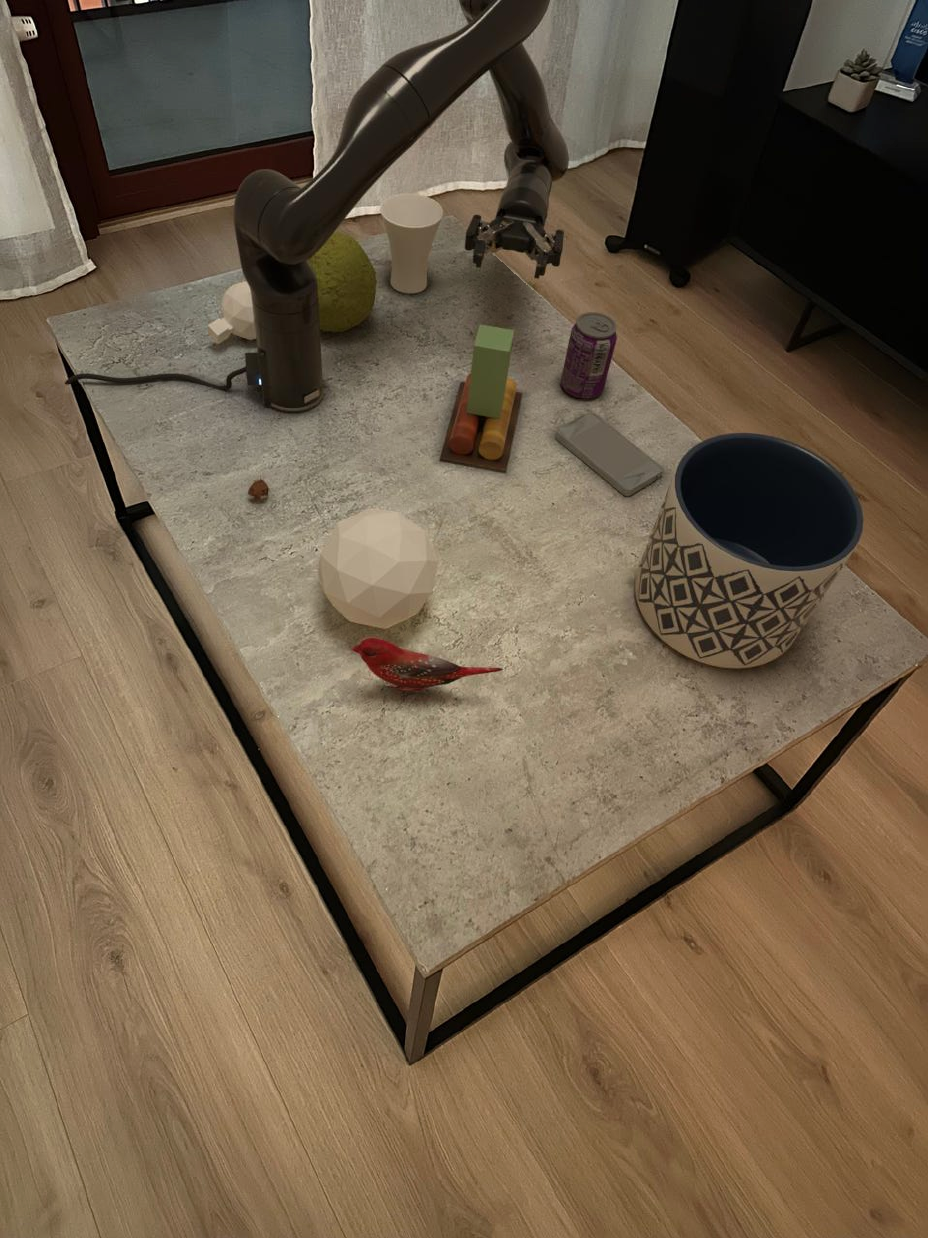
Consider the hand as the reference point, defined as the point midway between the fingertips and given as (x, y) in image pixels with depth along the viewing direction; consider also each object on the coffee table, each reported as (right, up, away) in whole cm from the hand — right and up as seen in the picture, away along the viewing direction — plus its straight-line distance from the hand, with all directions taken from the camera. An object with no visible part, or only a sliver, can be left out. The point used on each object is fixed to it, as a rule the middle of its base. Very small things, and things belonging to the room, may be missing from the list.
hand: (508, 267), depth 128 cm
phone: (+16, -26, +8) cm, 31 cm away
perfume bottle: (-42, -4, +18) cm, 46 cm away
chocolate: (-35, -34, -3) cm, 48 cm away
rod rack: (-3, -21, +10) cm, 23 cm away
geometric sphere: (-17, -48, -12) cm, 53 cm away
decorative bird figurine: (-11, -59, -19) cm, 63 cm away
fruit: (-28, 0, +23) cm, 37 cm away
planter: (+28, -48, -7) cm, 56 cm away
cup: (-16, +9, +31) cm, 36 cm away
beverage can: (+13, -13, +18) cm, 25 cm away
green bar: (-3, -18, +6) cm, 19 cm away
